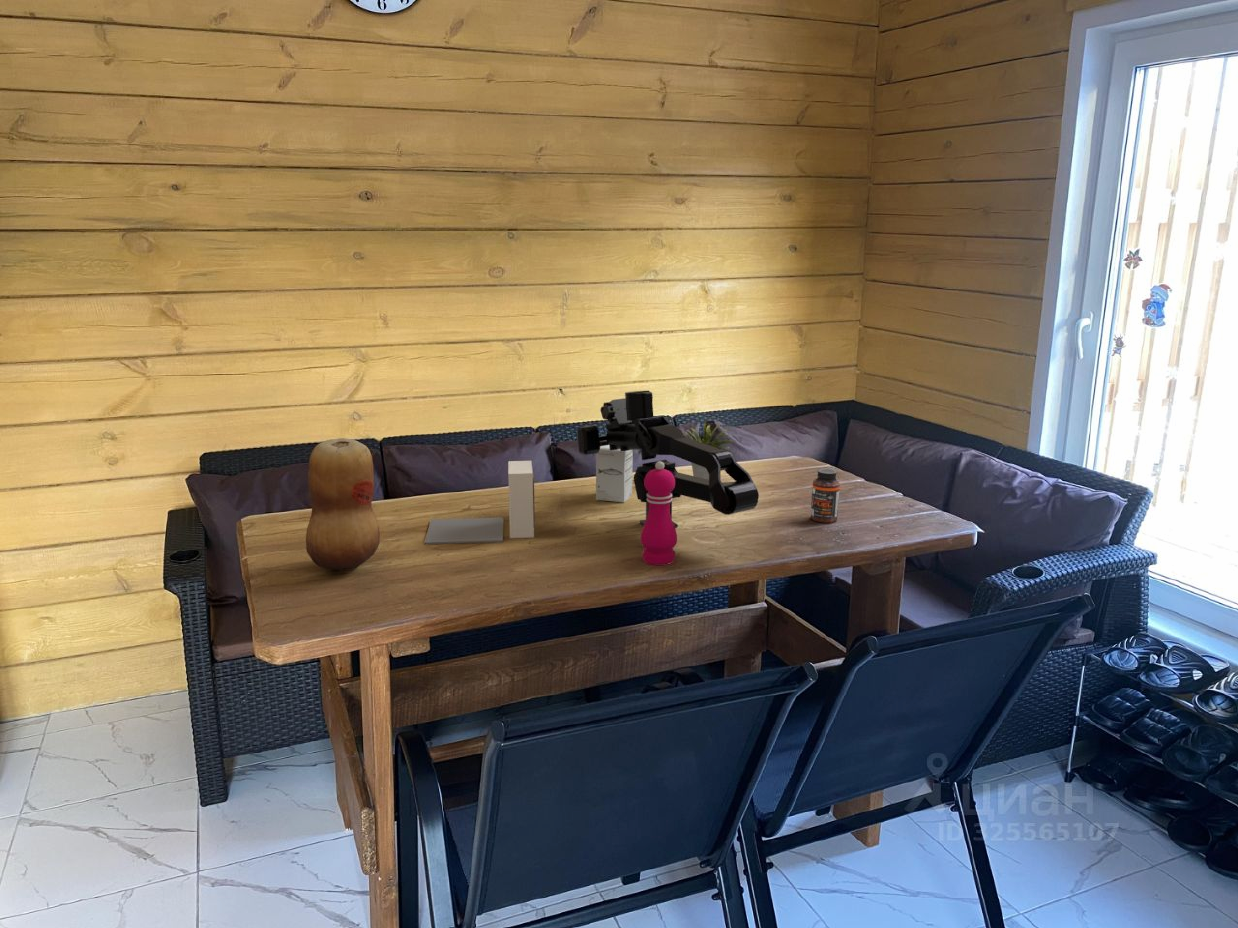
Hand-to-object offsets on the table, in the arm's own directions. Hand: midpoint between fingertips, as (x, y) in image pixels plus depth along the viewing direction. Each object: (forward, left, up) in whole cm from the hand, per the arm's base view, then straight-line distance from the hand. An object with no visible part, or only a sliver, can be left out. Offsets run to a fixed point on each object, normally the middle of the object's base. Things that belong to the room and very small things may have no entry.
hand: (593, 434), depth 226 cm
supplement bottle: (-35, -41, -16) cm, 57 cm away
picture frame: (-15, +23, -16) cm, 32 cm away
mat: (-11, +35, -16) cm, 40 cm away
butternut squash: (-24, +62, -16) cm, 68 cm away
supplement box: (0, -5, -16) cm, 17 cm away
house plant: (+1, -30, -16) cm, 34 cm away
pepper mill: (-44, +5, -16) cm, 47 cm away
